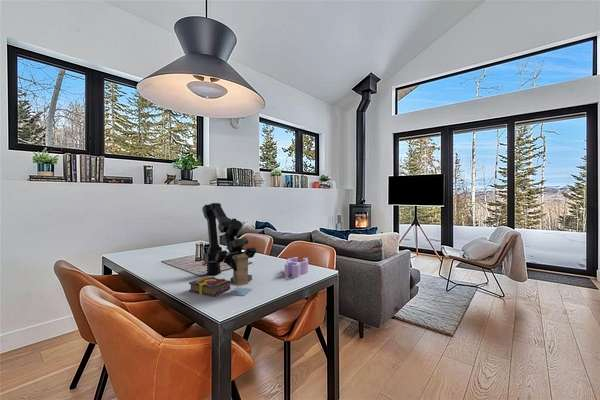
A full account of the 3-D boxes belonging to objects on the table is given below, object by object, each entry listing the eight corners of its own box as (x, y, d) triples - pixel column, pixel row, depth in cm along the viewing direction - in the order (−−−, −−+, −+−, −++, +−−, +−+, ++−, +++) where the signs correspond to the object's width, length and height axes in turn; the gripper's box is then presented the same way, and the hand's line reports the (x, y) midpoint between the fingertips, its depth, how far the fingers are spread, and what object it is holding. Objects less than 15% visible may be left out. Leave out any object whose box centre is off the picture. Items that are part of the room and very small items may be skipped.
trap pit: (230, 282, 137) (230, 278, 137) (238, 278, 145) (238, 273, 145) (244, 284, 135) (244, 279, 135) (252, 279, 143) (252, 274, 143)
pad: (228, 294, 122) (228, 292, 122) (237, 288, 129) (237, 287, 129) (244, 295, 120) (244, 294, 119) (252, 289, 127) (252, 288, 127)
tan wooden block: (233, 283, 125) (233, 255, 125) (243, 281, 128) (243, 253, 128) (237, 286, 121) (237, 257, 121) (247, 284, 124) (248, 255, 124)
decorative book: (207, 285, 135) (207, 275, 135) (232, 290, 128) (232, 279, 128) (188, 292, 125) (188, 281, 124) (215, 298, 117) (215, 286, 117)
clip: (300, 279, 144) (300, 266, 144) (279, 276, 148) (279, 264, 148) (311, 269, 163) (311, 258, 163) (291, 267, 167) (292, 256, 167)
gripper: (217, 233, 122) (227, 263, 113) (254, 230, 133) (266, 257, 124) (211, 248, 128) (220, 277, 119) (247, 244, 139) (257, 270, 131)
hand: (241, 269), depth 123 cm, fingers closed on tan wooden block, 5 cm apart
